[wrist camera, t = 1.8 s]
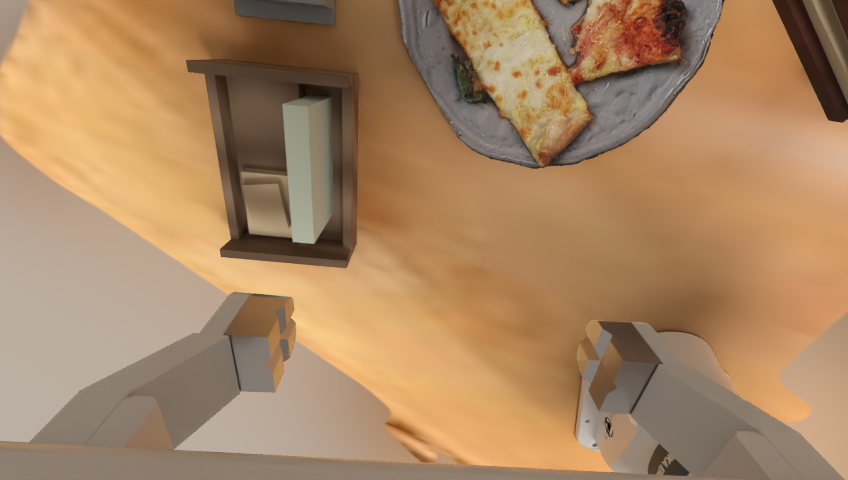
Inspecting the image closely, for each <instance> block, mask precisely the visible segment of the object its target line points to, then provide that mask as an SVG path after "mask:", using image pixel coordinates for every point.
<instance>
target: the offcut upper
mask: <svg viewBox="0 0 848 480" xmlns="http://www.w3.org/2000/svg"><path fill="white" fill-rule="evenodd" d="M242 188H243V192H244V195H245V199H246V202H247V206H248V209H249V213H250V217H251V220H252V224H253V227H254V229H284V228H289V227H290V226H291V218H290V213H289V209H288V204H287V200H286V196H285V191H284V187H283V182H282V180H281V181H256V182H246V183H244V184H243V185H242Z"/></svg>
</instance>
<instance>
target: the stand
mask: <svg viewBox="0 0 848 480" xmlns="http://www.w3.org/2000/svg"><path fill="white" fill-rule="evenodd" d="M234 3H235V12H236V15H240V16H249V17H259V18H268V19H277V20H287V21H296V22H306V23H315V24H324V25H334V26H335V0H234Z"/></svg>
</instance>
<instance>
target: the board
mask: <svg viewBox="0 0 848 480" xmlns="http://www.w3.org/2000/svg"><path fill="white" fill-rule="evenodd" d="M282 107H283V121H284V134H285V147H286V160H287V174H288V187H289V200H290V213H291V226H292V240H293V242H299V243H310V244H314V243H315V242H316V240H317V238H318V237H319V235H320V234H321V232H322V230H323V229H324V227H325V226H326V224H327V222H328V221H329V219H330V218H331V216H332V214H333V213H334V190H333V135H332V97H331V96H321V95H308V96H305V97H302V98H299V99H296V100H293V101H290V102H287V103H284V104H282Z"/></svg>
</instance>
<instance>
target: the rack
mask: <svg viewBox="0 0 848 480" xmlns="http://www.w3.org/2000/svg"><path fill="white" fill-rule="evenodd" d="M186 62H187V68H188V72H194V73H204V74H205V79H206V85H207V91H208V98H209V104H210V110H211V116H212V123H213V129H214V135H215V141H216V148H217V154H218V160H219V166H220V173H221V179H222V185H223V191H224V198H225V204H226V210H227V216H228V223H229V229H230V235H231V240H230V241H229V242H228V243H226V244H225V245H224V246H223V247H222V248H221V249H220V253H221V257H228V258H239V259H250V260H261V261H272V262H283V263H294V264H305V265H316V266H327V267H339V268H347V266H348V263H349V261H350V258H351V256H352V253H353V251H354V248H355V246H356V233H357V152H358V73H348V72H338V71H329V70H319V69H309V68H300V67H290V66H280V65H271V64H261V63H251V62H242V61H232V60H222V59H218V60H186ZM308 95H321V96H331V97H332V135H333V190H334V213H333V214H332V216H331V218H330V219H329V221H328V222H327V224H326V226H325V227H324V229H323V230H322V232H321V234H320V235H319V237H318V238H317V240H316V242H315V243H314V244H310V243H299V242H293V240H292V238H287V237H276V236H265V235H254V234H249V228H248V220H247V213H246V205H245V198H244V192H243V188H242V185H243V183H242V175H241V171H243V170H244V169H246V168H252V169H262V170H272V171H283V172H287V160H286V147H285V134H284V121H283V107H282V104H284V103H287V102H290V101H293V100H296V99H299V98H302V97H305V96H308Z"/></svg>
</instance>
